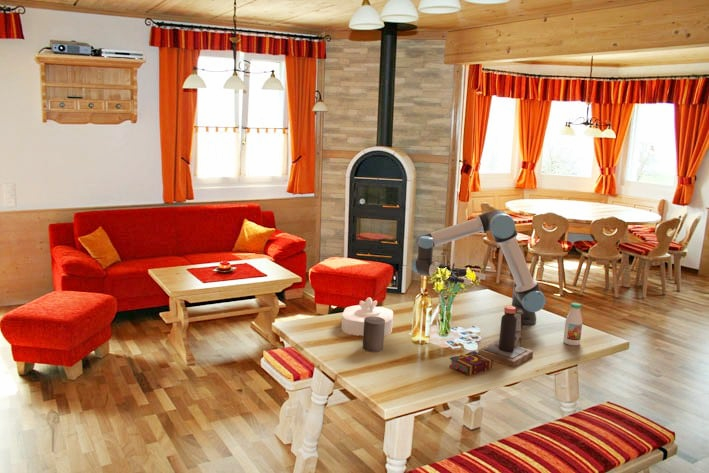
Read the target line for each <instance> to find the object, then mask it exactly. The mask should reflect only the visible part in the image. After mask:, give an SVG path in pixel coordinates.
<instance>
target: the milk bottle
mask: <svg viewBox="0 0 709 473" xmlns="http://www.w3.org/2000/svg"><path fill="white" fill-rule="evenodd" d="M581 308H582V304H581V303H578V302H571V303H570V311H569V313H568V314H567V316H566V319H565V325H564V332H563V343H564V344H565V345H569V346H579V345H580V344H581V338H582V331H583V330H582V329H583V317H582V313H581Z"/></svg>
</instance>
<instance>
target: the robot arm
mask: <svg viewBox="0 0 709 473" xmlns="http://www.w3.org/2000/svg"><path fill="white" fill-rule="evenodd" d="M490 232H491V235H492V237H493V240H494V242H495V244H498V245H499V246H500V248H501V251H502V253H503V256H504V258H505V260H506V263H507V266H508V268H509V270H510V273H511V276H512V278H513V279H514V280H513V289H512V298H511V299H512V300H511V306H514V307H515V308H521V309H523V312H524V318H523V325H524V326H525V325H527V326H529V325H534V324H536V323H537V314H536V313H537V312H539V311H541V310H542V309H543V308H545V305H546V296H545V294H544V293H543V292H542V290H541V288H540V285H539V282H538V281H537V280H536V279H534V278H533V277H532V274H531V271H530V270H529V269H530V268H529V266H528V265H527V261H526V259H525V257H524V255H523V252H522V249H521V247H520V245H519V243H518V240H517V237H518V231H517V228H516V223H515V220H514V219H513V216H511V215H509V214H508V213H506V212H505V211H504V210H500V209H492V210H489V211H487V212H484V213H481V214H478V215H477V216H476V218H472V219H469V220H466V221H462V222H460V223H457V224H454V225H451V226H448V227H444V228H441V229H438V230H436V231H433V232H429V233H426V234H425V233H422V234H418V235H417V236H416V237H415V246H416V249H417V258H415V259H414V260H412V265H411V269H412V271H413V273H415V274H419V275H423V276H427V277H431V276H430V275H431V274H432V273H433V272H434V271H435V270H436V266H437V265H438V267H439V268H445V267H447V269H448V270H449V271H451V275H450V277H449V278H448V279H447V280H446V281H448V282H450V283H452V284H454V285H457V284H464V285H467V286H471V285H472V282H471V281H472V279H471V278H466V276H465V275H466V270H467V269H463V268H451V266H450V265H449V264H444V263H440V262H436V261H433V251H434V247H438V246H441V245H444V244H447V243H450V242H453V241H456V240H460V239H463V238H465V237H468V236H472V235H476V234H478V233H482V234H485V233H490ZM435 263H436V264H437V265H436V266H435ZM472 270H473V271H474V272H475V274H476V276H477V277H479V278H478V279H480V280H484V281H486V273H483V272H482V273H481V272H477V271H476V270H475V269H472Z"/></svg>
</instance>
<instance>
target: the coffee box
mask: <svg viewBox="0 0 709 473" xmlns="http://www.w3.org/2000/svg"><path fill="white" fill-rule="evenodd" d="M514 315H515V317H516V318H517V324H516V334H515V343H514V345H516V346H519V347H521V345H522V344H521V343H522V335H523V318H524V312H523V309H521V308H516V312H515V314H514Z"/></svg>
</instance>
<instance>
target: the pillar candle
mask: <svg viewBox="0 0 709 473" xmlns="http://www.w3.org/2000/svg"><path fill="white" fill-rule="evenodd" d="M384 329H385V320H384V319H383V318H380V317H374V316H371V317H366V318H365V319H364V332H363V336H362V350H365V351H367V352H372V353H375V352H377V353H378V352H381V351H383V350H384V341H385V340H384V339H385V336H384Z"/></svg>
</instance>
